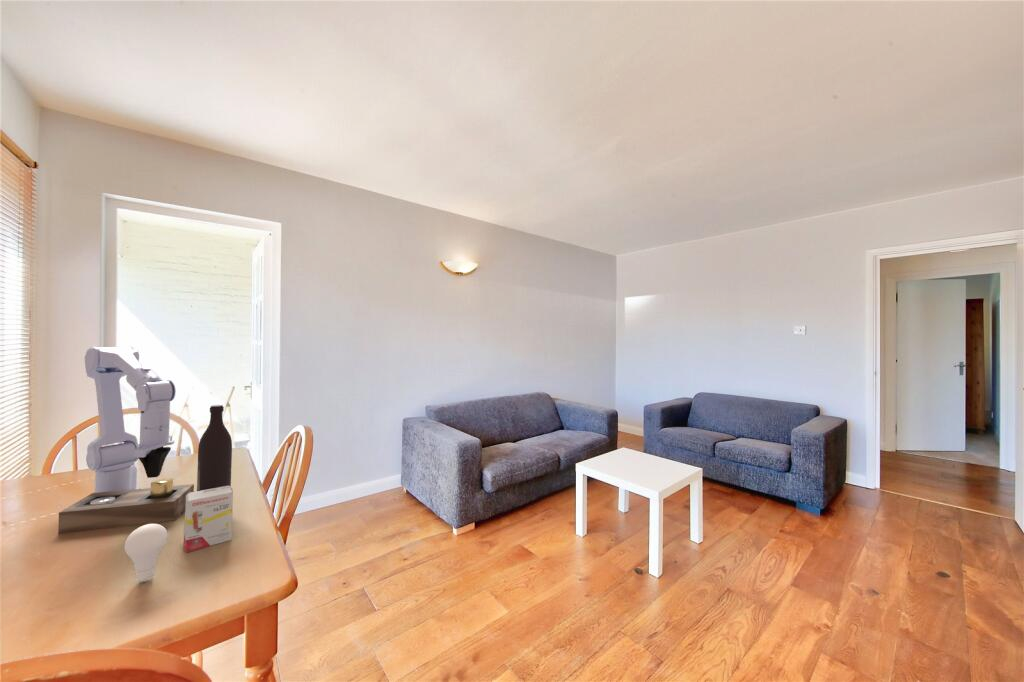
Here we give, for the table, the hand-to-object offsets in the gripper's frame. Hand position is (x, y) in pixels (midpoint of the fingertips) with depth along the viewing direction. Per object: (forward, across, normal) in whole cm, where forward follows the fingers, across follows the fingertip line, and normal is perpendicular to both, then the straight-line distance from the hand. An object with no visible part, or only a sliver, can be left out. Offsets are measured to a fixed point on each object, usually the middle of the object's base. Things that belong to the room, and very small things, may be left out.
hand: (153, 476), depth 101 cm
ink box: (+10, -21, -19) cm, 30 cm away
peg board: (+10, 0, +4) cm, 11 cm away
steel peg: (+10, 0, +10) cm, 14 cm away
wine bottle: (+10, -8, -16) cm, 20 cm away
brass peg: (+6, 0, -2) cm, 7 cm away
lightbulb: (+10, -34, -13) cm, 38 cm away
